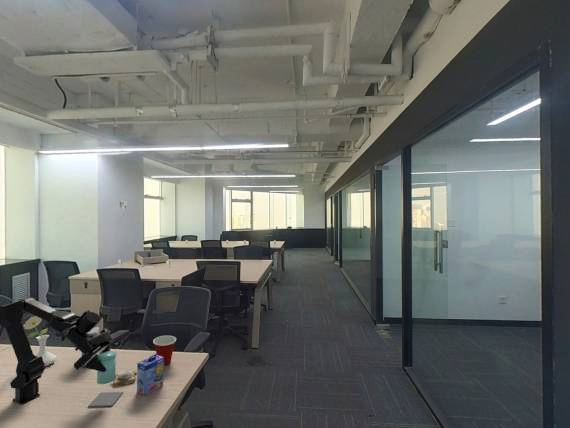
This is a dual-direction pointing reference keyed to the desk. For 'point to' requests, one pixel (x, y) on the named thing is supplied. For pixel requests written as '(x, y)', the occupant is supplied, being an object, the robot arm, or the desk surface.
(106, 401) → the mat
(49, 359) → the flower in vase
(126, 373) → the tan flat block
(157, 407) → the desk surface
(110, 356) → the teal rounded cylinder
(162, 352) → the plastic cup
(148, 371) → the ink cartridge box
